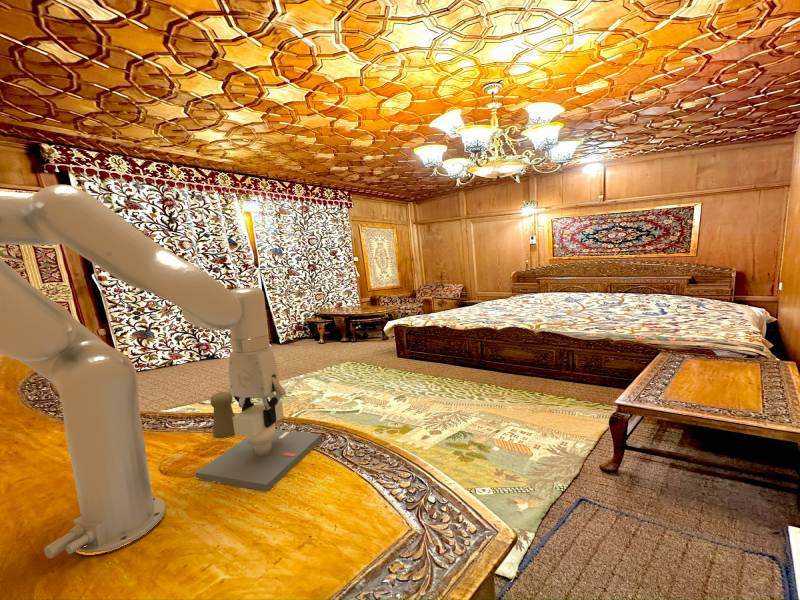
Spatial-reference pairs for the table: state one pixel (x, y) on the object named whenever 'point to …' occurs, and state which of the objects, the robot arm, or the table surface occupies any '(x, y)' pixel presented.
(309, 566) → the table surface
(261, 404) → the cream rectangular block
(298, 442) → the base plate
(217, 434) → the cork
